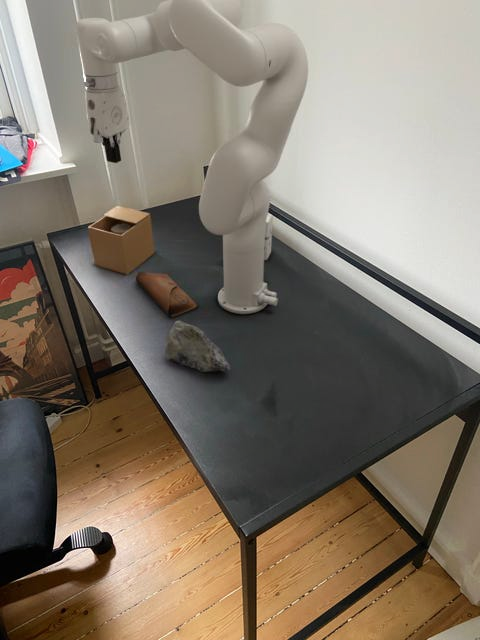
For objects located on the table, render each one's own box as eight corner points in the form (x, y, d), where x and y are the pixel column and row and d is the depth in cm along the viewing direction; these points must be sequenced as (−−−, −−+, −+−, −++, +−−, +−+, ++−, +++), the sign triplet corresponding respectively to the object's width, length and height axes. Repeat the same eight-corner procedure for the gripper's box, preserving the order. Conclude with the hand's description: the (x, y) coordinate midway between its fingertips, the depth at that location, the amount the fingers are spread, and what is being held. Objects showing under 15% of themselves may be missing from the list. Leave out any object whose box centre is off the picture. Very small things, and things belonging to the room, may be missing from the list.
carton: (123, 244, 150) (117, 207, 143) (154, 252, 146) (150, 215, 139) (95, 264, 141) (87, 227, 134) (127, 274, 137) (121, 236, 130)
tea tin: (138, 255, 144) (134, 226, 139) (127, 263, 141) (122, 234, 135) (123, 251, 146) (119, 222, 140) (112, 259, 142) (107, 230, 137)
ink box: (237, 256, 144) (236, 217, 137) (242, 248, 148) (242, 209, 141) (267, 261, 142) (268, 221, 135) (271, 252, 146) (273, 214, 139)
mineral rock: (233, 377, 106) (232, 339, 100) (184, 393, 102) (180, 355, 96) (208, 340, 115) (206, 304, 109) (162, 355, 111) (157, 317, 105)
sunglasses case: (199, 305, 125) (186, 289, 120) (179, 325, 124) (164, 311, 119) (164, 272, 137) (150, 257, 132) (145, 291, 136) (130, 276, 131)
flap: (117, 206, 143) (117, 205, 142) (149, 214, 139) (149, 213, 139) (103, 215, 138) (103, 214, 138) (136, 224, 134) (136, 223, 134)
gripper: (93, 91, 110) (107, 174, 121) (135, 76, 121) (144, 154, 132) (66, 87, 113) (82, 168, 124) (109, 73, 124) (120, 149, 135)
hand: (114, 161), depth 128 cm, fingers closed
